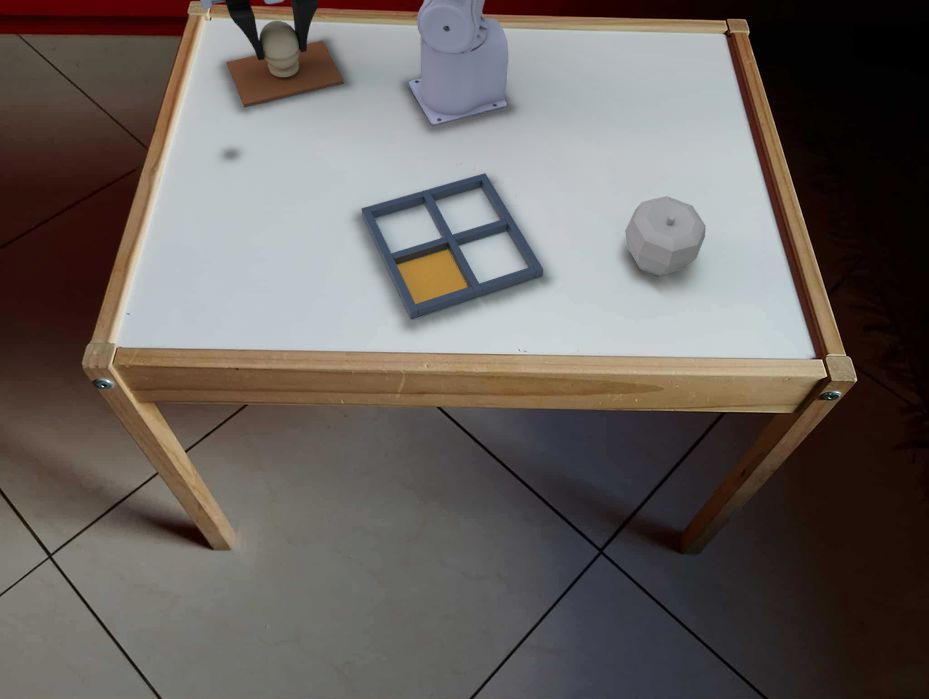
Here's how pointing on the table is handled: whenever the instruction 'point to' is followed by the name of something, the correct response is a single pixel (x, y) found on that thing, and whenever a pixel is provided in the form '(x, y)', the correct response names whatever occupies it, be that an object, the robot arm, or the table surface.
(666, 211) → the apple
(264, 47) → the beige domed knob
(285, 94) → the mat
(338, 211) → the table surface
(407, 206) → the holder
